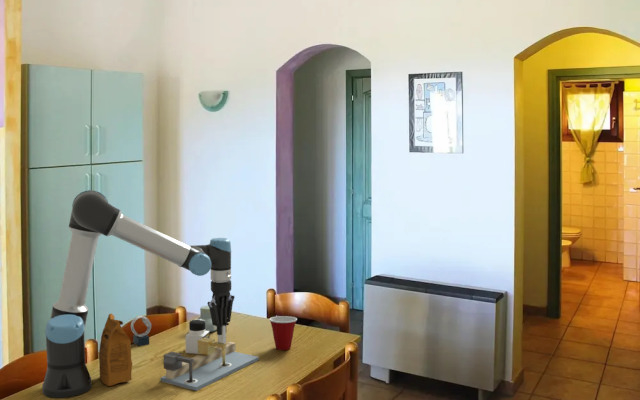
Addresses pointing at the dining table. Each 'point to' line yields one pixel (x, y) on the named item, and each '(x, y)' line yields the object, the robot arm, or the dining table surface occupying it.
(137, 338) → the grey ring on base
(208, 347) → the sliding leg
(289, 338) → the plastic cup
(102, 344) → the coffee package
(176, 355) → the trammel beam
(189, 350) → the medicine bottle
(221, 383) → the dining table surface
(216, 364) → the plate
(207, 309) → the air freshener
